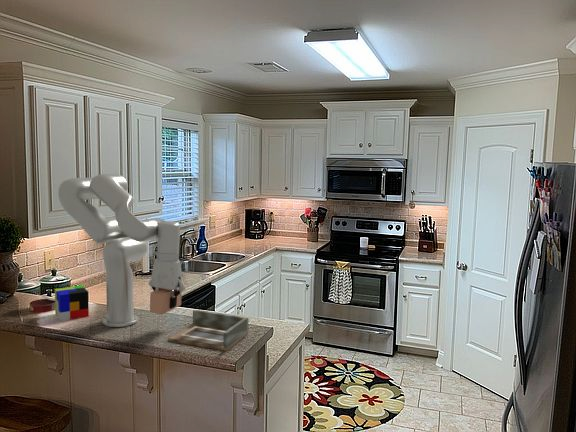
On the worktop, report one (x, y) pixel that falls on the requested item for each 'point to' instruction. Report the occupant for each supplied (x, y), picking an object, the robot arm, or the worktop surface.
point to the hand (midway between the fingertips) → (166, 305)
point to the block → (162, 301)
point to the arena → (213, 330)
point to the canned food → (42, 305)
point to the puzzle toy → (71, 303)
